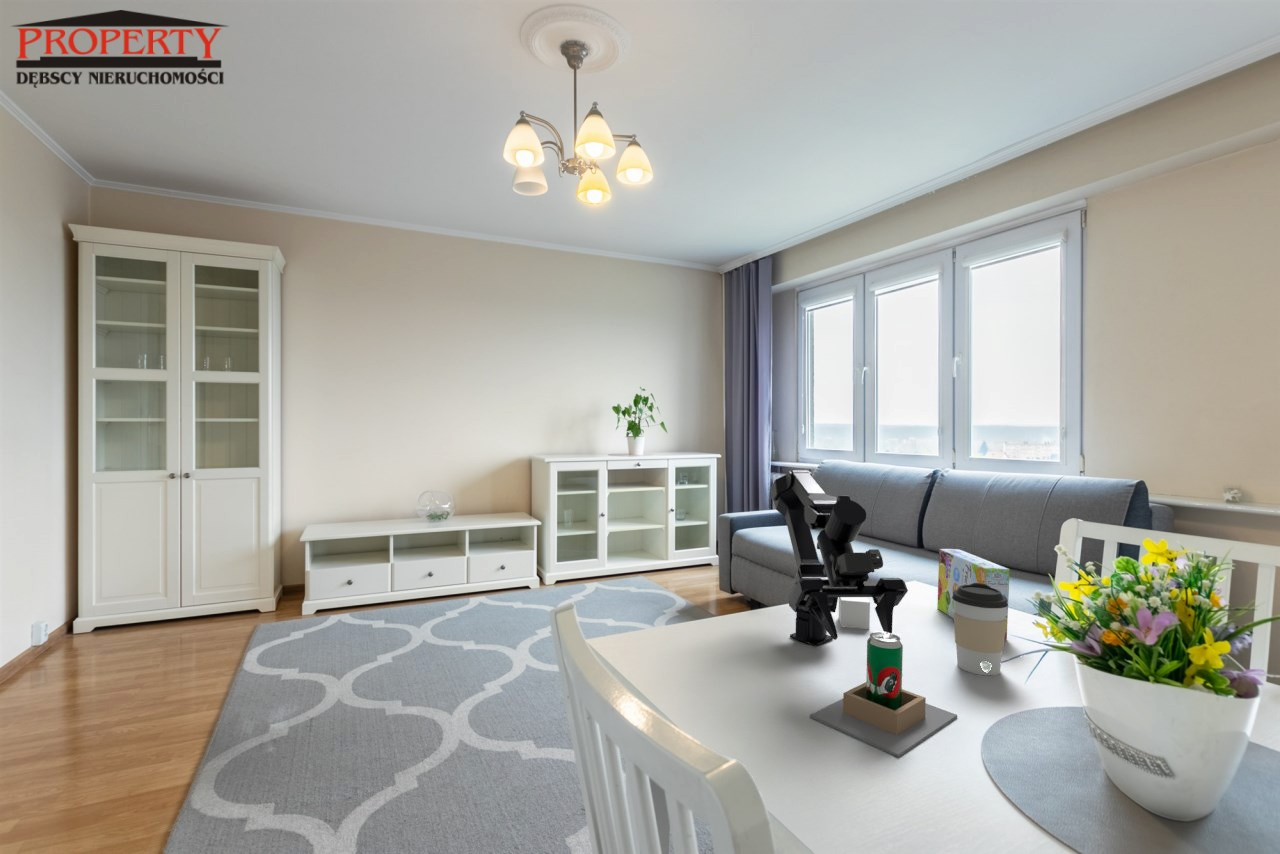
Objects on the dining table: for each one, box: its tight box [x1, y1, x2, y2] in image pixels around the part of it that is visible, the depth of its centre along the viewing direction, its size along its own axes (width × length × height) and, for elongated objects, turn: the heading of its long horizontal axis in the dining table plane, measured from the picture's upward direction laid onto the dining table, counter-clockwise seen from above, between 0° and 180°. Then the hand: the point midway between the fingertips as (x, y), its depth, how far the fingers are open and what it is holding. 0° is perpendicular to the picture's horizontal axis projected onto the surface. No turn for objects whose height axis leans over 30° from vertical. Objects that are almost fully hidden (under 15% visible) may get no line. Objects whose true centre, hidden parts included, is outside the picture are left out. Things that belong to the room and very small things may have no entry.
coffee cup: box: [952, 583, 1009, 676], centre depth 112 cm, size 9×9×15 cm
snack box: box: [937, 548, 1010, 640], centre depth 138 cm, size 21×6×15 cm, turn 179°
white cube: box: [838, 597, 871, 630], centre depth 136 cm, size 6×6×6 cm
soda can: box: [865, 631, 904, 711], centre depth 93 cm, size 5×5×12 cm
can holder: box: [809, 681, 958, 758], centre depth 92 cm, size 18×14×3 cm
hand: (862, 638), depth 100 cm, fingers open, 9 cm apart
